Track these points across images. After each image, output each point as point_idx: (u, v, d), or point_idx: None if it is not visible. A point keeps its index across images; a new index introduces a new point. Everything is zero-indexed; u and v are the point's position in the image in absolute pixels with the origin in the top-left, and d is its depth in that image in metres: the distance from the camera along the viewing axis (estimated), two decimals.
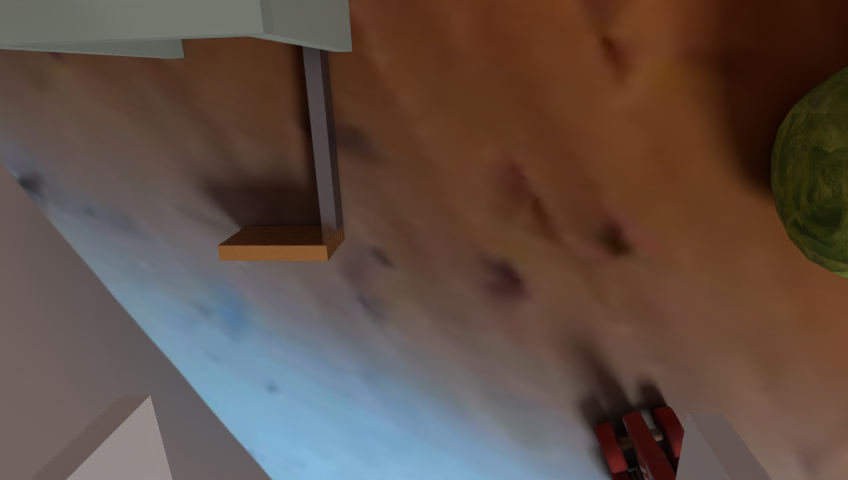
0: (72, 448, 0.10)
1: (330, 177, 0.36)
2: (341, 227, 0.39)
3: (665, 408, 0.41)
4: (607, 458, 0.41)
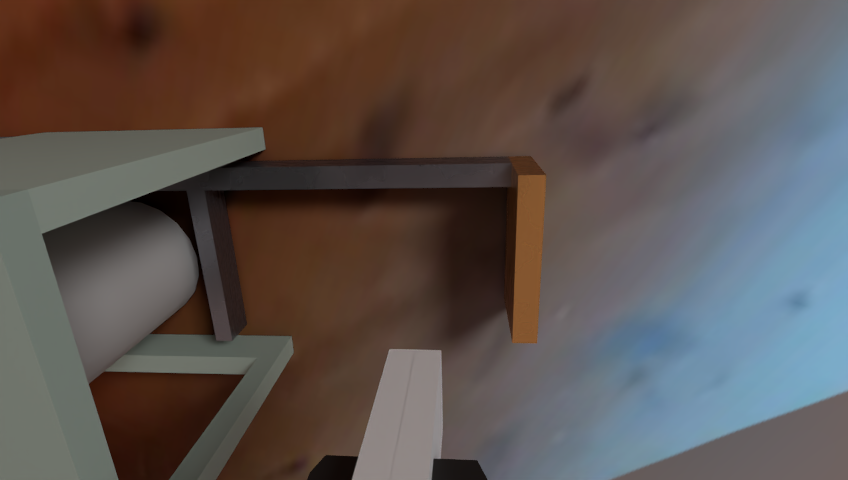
0: (385, 388, 0.12)
1: (421, 165, 0.24)
2: (509, 158, 0.25)
3: None
4: None
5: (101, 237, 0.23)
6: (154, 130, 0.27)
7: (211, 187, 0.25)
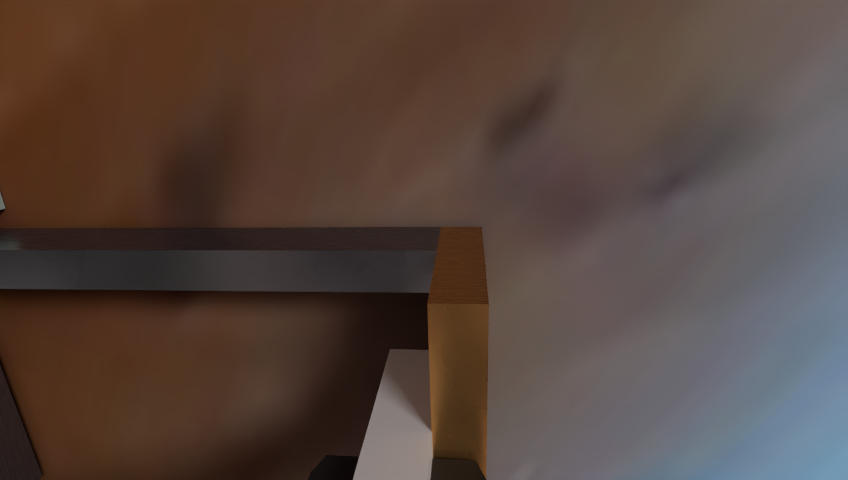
0: (386, 388, 0.12)
1: (268, 252, 0.13)
2: (440, 233, 0.13)
3: None
4: None
5: None
6: None
7: None
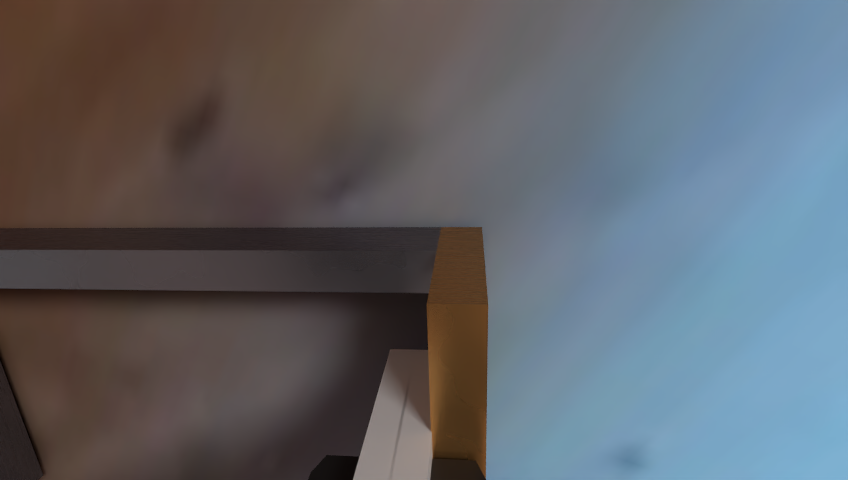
0: (386, 388, 0.12)
1: (267, 252, 0.13)
2: (440, 234, 0.13)
3: None
4: None
5: None
6: None
7: None
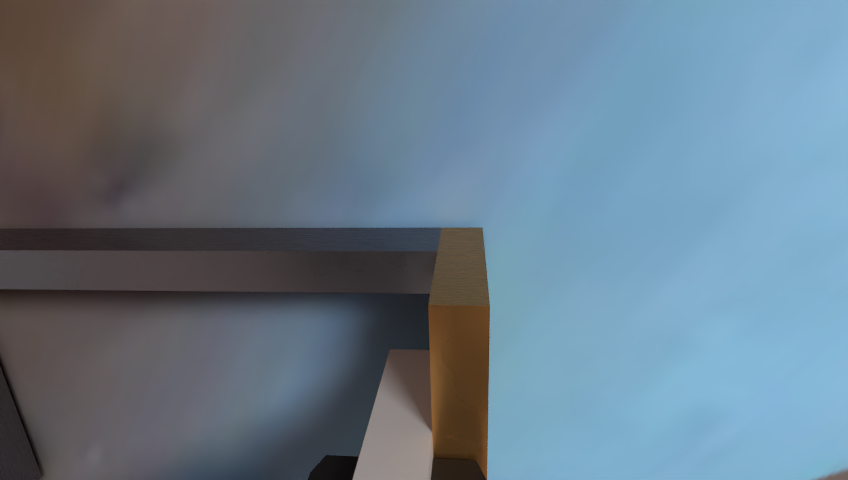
0: (386, 388, 0.12)
1: (268, 253, 0.13)
2: (440, 234, 0.13)
3: None
4: None
5: None
6: None
7: None
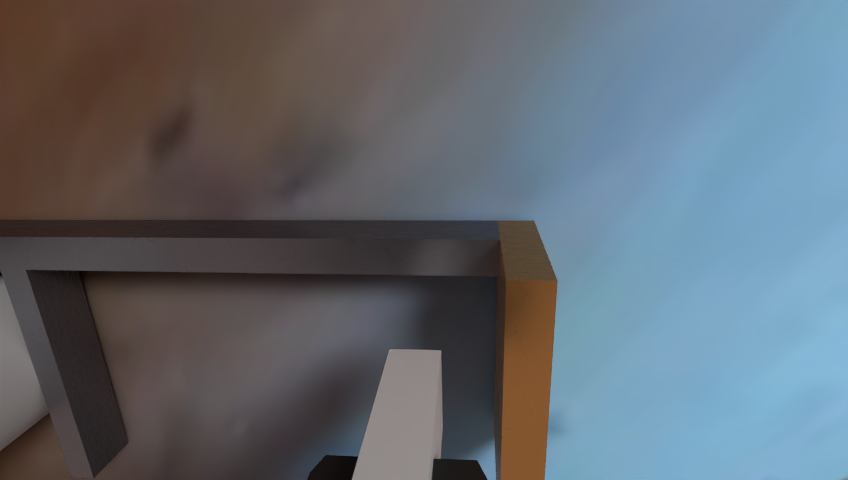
0: (385, 388, 0.12)
1: (353, 240, 0.15)
2: (498, 226, 0.15)
3: None
4: None
5: None
6: None
7: (35, 265, 0.16)
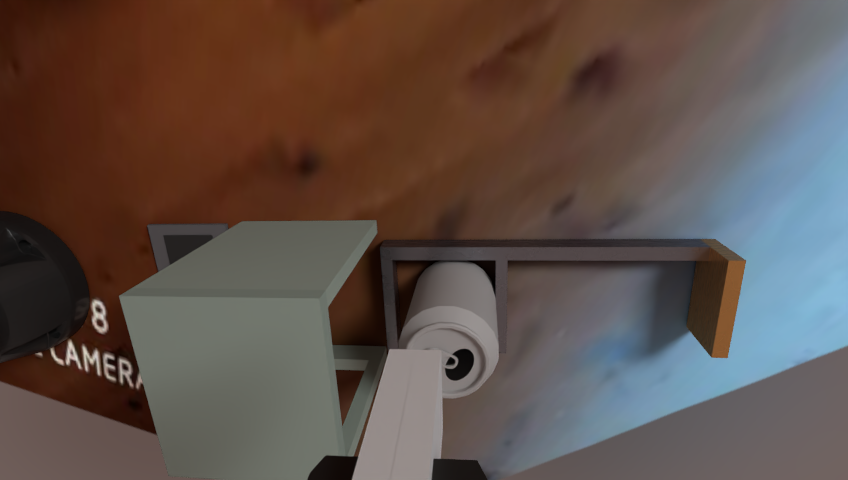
0: (385, 388, 0.12)
1: (652, 247, 0.39)
2: (702, 241, 0.40)
3: None
4: None
5: (472, 284, 0.38)
6: (310, 221, 0.44)
7: (512, 258, 0.41)
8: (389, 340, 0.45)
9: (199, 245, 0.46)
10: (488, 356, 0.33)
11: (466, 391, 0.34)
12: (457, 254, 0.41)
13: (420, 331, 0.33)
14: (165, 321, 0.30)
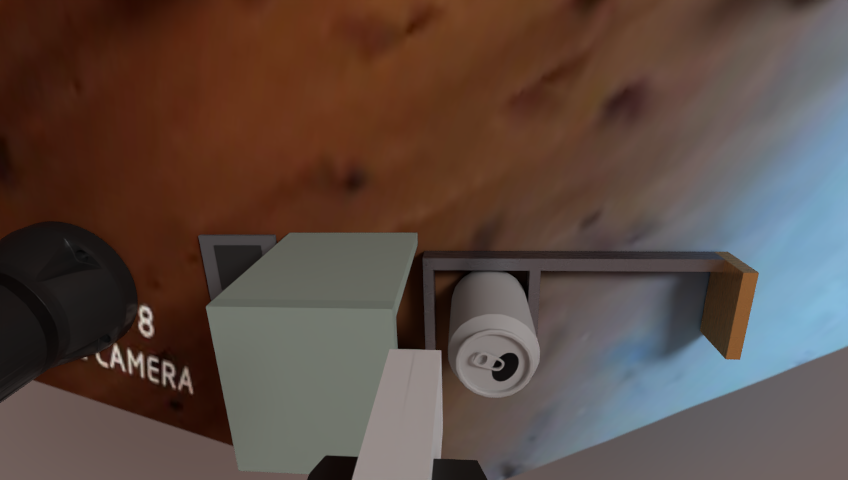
0: (386, 388, 0.12)
1: (672, 259, 0.43)
2: (717, 254, 0.44)
3: None
4: None
5: (511, 293, 0.42)
6: (355, 233, 0.47)
7: (545, 269, 0.44)
8: (427, 344, 0.48)
9: (248, 255, 0.48)
10: (532, 359, 0.37)
11: (511, 391, 0.38)
12: (494, 265, 0.45)
13: (471, 337, 0.37)
14: (247, 329, 0.33)
